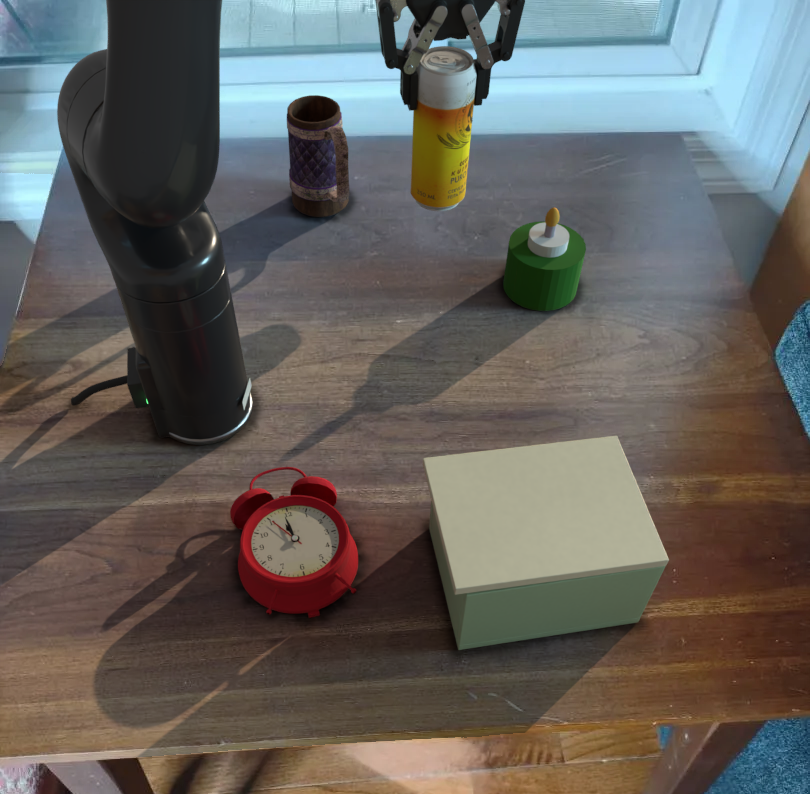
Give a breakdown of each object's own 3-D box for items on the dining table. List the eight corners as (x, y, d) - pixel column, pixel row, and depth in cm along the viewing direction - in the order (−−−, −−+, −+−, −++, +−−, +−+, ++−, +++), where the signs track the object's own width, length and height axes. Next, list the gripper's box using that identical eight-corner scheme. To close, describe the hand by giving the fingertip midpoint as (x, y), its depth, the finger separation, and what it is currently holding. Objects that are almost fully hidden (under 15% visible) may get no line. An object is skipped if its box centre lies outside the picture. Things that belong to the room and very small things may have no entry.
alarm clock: (249, 619, 68) (209, 455, 73) (255, 640, 74) (218, 487, 79) (375, 586, 70) (328, 429, 75) (372, 610, 76) (328, 462, 81)
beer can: (460, 217, 94) (472, 78, 82) (405, 209, 95) (409, 70, 82) (468, 186, 97) (482, 48, 85) (415, 178, 98) (421, 40, 86)
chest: (458, 650, 71) (466, 595, 64) (428, 527, 78) (433, 465, 71) (638, 622, 73) (666, 566, 66) (593, 504, 80) (614, 442, 73)
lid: (454, 595, 64) (455, 589, 63) (422, 464, 71) (423, 457, 70) (666, 566, 66) (669, 560, 65) (614, 441, 73) (616, 435, 72)
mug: (282, 194, 106) (271, 97, 96) (334, 178, 108) (329, 83, 98) (317, 240, 101) (309, 144, 91) (371, 223, 103) (369, 127, 93)
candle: (488, 280, 98) (497, 202, 89) (542, 253, 101) (556, 175, 92) (536, 321, 94) (551, 243, 86) (591, 291, 97) (611, 213, 89)
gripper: (526, -110, 77) (503, 80, 90) (365, -104, 75) (367, 89, 88) (549, -76, 72) (521, 119, 86) (380, -68, 71) (379, 129, 84)
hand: (443, 103), depth 87 cm, fingers closed on beer can, 6 cm apart
